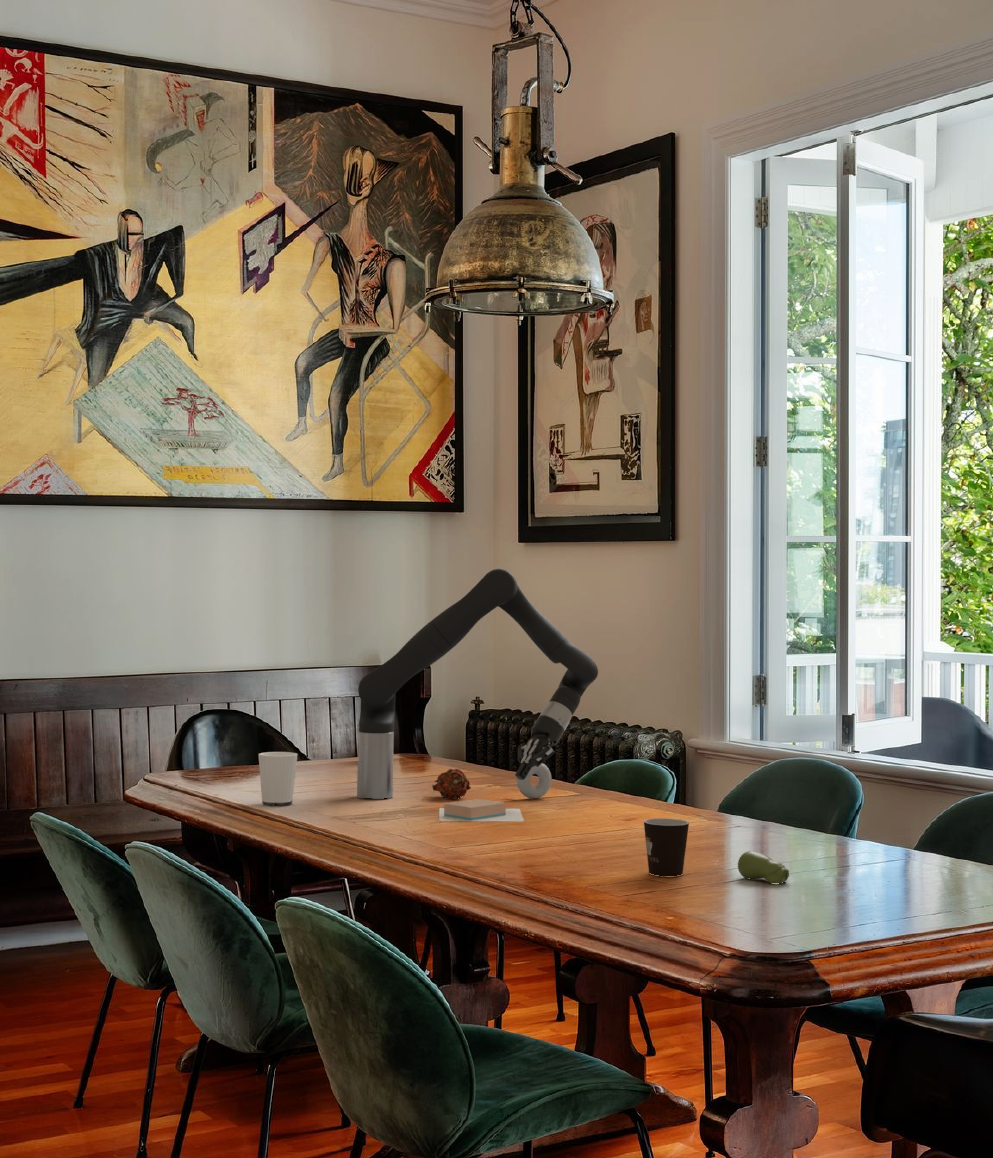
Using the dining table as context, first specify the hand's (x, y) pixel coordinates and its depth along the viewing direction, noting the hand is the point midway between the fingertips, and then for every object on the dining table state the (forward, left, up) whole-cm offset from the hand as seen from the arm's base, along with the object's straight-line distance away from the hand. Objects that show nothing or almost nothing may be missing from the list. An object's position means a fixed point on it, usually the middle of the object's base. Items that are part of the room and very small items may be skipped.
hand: (519, 777), depth 341 cm
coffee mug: (+24, -79, -8) cm, 83 cm away
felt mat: (-10, -11, -8) cm, 17 cm away
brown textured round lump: (-17, +20, -8) cm, 27 cm away
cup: (-61, +6, -8) cm, 62 cm away
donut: (+5, +20, -8) cm, 22 cm away
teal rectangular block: (-7, -8, -6) cm, 12 cm away
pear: (+41, -86, -8) cm, 96 cm away
